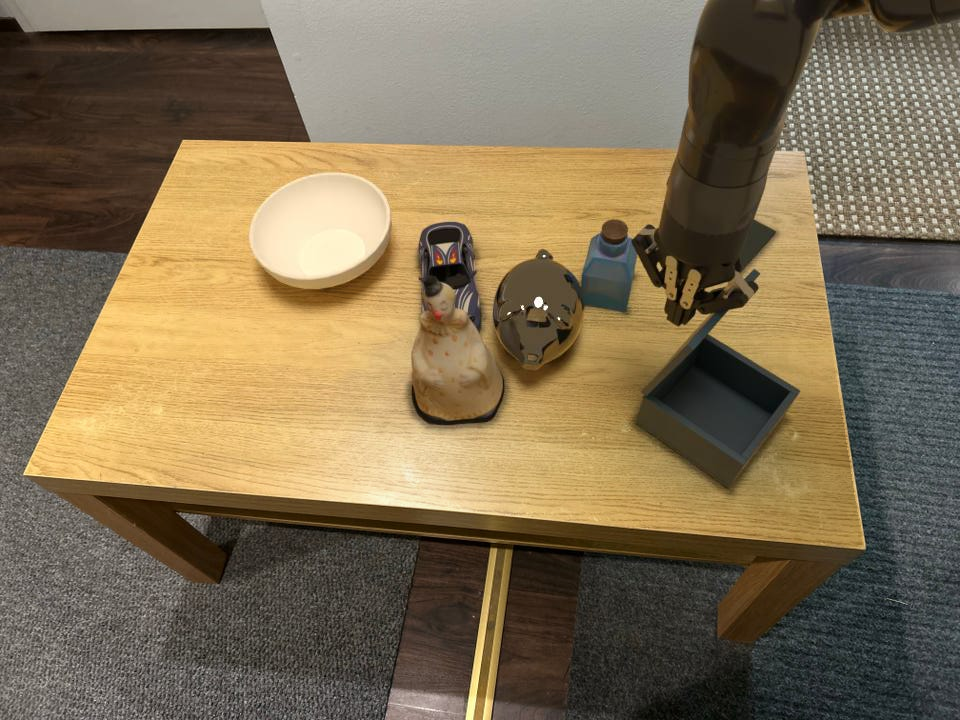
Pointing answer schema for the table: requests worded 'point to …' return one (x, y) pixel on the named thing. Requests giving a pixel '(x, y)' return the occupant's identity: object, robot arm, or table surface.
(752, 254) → the mat
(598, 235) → the perfume bottle
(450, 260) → the toy car
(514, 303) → the piggy bank
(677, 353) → the lid
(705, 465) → the box
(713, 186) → the robot arm
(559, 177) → the table surface
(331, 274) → the bowl
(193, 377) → the table surface
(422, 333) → the figurine
